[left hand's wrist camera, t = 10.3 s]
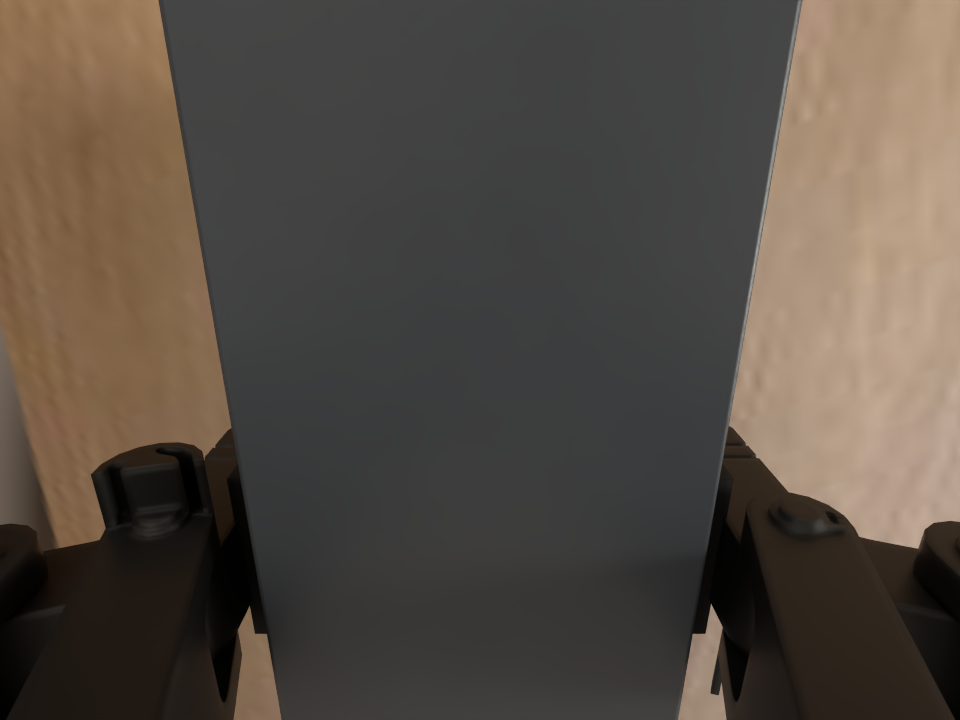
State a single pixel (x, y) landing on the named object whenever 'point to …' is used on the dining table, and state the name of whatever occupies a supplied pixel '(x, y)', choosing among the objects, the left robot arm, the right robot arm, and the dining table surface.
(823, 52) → the dining table surface
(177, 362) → the dining table surface
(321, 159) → the post
